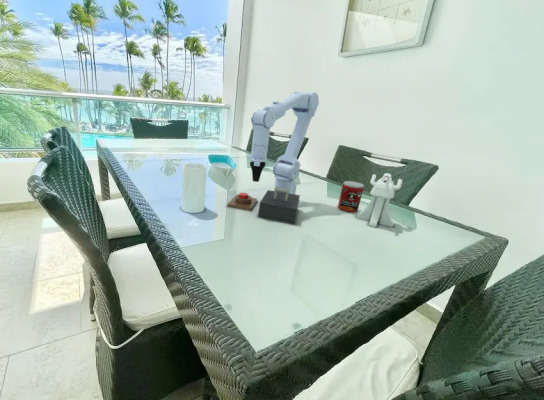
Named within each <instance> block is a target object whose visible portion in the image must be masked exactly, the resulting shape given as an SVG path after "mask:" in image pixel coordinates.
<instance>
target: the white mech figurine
mask: <svg viewBox="0 0 544 400" xmlns="http://www.w3.org/2000/svg"><path fill="white" fill-rule="evenodd" d="M376 178H377V175H376V174H372V175H371V179H370V181H369V182H370V185H371V186H373V187H372V188H371V190H370V192H369V194H370V195H371V199H370V201H369V203H368V205H367V206H366V207H365V208H364V209H362V210H361V211H359V212H358V214H357V216H356V219H360V220H364V221H368V222H369V223H368V226H369V227H373V228H377V225H378V224H379V225H383V226H385V227H386V226H387V227H390V228H392V227H393V226H394V221H393V219H392V217H391V213H390V207H389V206H390V201H391V200H392V199H394V196H395V194H396V193H395V191H399V190H400V189H401V188H402V184H403V179H402V178H398V180H397V183H396V184H395V182H394V181H393V178H392V174H391V173H388V172H386V173H384V174H383V176H382V177H381V178H379V179H378V180H377V181H376Z"/></svg>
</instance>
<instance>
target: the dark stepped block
mask: <svg viewBox="0 0 544 400" xmlns="http://www.w3.org/2000/svg"><path fill="white" fill-rule="evenodd" d="M298 204H300V203H299V202H298ZM258 207H259V208H258V214H257V218H262V219H266V220H270V221H271V220H272V221H276V222H281V223H282V222H283V223H286V224H292V225H295V223H296V219H297V218H296V216H297V212H298V210H297V211H294V210H288V209H283V208H277V207H272V206H266V205H260V204H259V206H258ZM298 207H299V205H298V206H297V209H299V208H298Z"/></svg>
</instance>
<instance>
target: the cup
mask: <svg viewBox="0 0 544 400" xmlns="http://www.w3.org/2000/svg"><path fill="white" fill-rule="evenodd" d="M181 174H182V175H181V177H182V178H181V179H182V180H181V210H182V211H183V212H185V213H190V214H197V213H202V212H204V210H205V201H206V185H207V164H203V163H195V162H189V163H183V164H182V173H181Z"/></svg>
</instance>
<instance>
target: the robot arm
mask: <svg viewBox="0 0 544 400" xmlns="http://www.w3.org/2000/svg"><path fill="white" fill-rule="evenodd" d="M319 103H320V100H319V95H318V93H317V92H315V91H313V92H302V91H301V92H300V91H299V92H298V91H294V92H292V93H290V95H289V96H288V97H287V98H286V99H284V100H283V101H278V100H274V101H272V104H270V105H266V106H264V108H263V109H256V110H255V111H254V112H253V113H252V116H251V118H250V123H251V125H252V128H251V130H252V132H253V134H252V141H251V151H250V155H247V158H246V159H250V160H252V161H249V166H250V168H251V175H252V177H251V178H252V182H256V183H259V182H260V178H261V175H262V172H263V171H264V169H265V168H266V161H267V160H268V157H267V156H268V151H269V150H268V148H269V142H270V141H269V140H270V134H271V128H272V127H274V125H275V123H276V122H277V120H279V119H281V118H283V117H284V116H285V115H286V113H287V111H289V110H292V113H293V114H294V116H296V118H297V120H296V123H295V125H294V128H293V131H292V133H291V136H290V137H289V140H288V141H289V142H288V143H287V147H286V149H285V152H284V154H282V155H280V156H279V157H277V160H276V161H275V163H274V164H273V167H272V174H273V175H274V178H275V180H274V189H273V191H275V187H280V188H287V189H289V194H295V195H296V191H297V180H296V179H297V178H298V177H299V175H300V168H301V163H300V161H299V159H298V156H299V153H300V150H301V148H302V146H303V142H304V139H305V137H306V134H307V132H308V130H309V126H310V123H311V121H312V118H313V117H315V114H316V112H317V109H318V106H319V105H320V104H319Z"/></svg>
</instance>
